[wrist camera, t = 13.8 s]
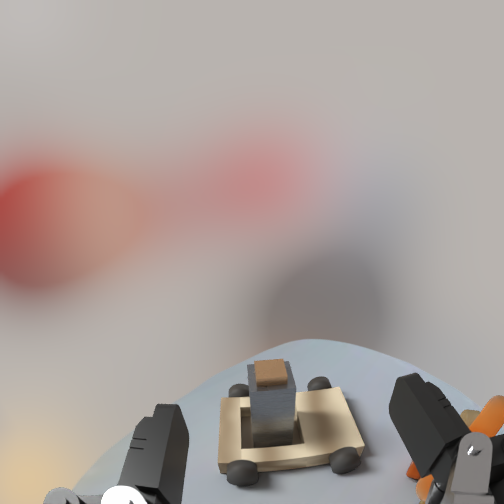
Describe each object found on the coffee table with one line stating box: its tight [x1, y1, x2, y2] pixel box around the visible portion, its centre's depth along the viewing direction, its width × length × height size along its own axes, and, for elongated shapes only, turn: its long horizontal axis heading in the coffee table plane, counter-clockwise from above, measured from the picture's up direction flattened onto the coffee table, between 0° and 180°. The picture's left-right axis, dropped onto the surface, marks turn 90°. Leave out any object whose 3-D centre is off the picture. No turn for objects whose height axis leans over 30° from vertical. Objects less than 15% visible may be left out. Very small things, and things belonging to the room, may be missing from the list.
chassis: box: [218, 377, 365, 486], centre depth 30 cm, size 16×15×3 cm
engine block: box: [247, 359, 296, 448], centre depth 29 cm, size 4×4×11 cm
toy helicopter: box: [407, 395, 504, 504], centre depth 13 cm, size 8×21×14 cm, turn 138°
